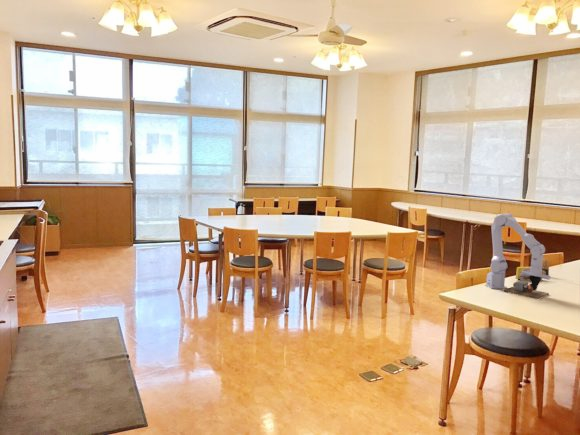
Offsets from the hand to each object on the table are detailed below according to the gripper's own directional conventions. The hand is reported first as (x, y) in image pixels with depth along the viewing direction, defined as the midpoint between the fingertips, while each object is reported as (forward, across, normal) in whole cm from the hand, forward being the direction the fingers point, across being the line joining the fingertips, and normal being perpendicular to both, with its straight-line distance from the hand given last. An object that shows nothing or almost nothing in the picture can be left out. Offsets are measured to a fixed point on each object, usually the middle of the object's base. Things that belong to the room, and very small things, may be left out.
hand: (534, 289), depth 266 cm
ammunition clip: (+3, +18, -53) cm, 56 cm away
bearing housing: (+3, +7, 0) cm, 8 cm away
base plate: (+3, +5, 0) cm, 5 cm away
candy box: (+3, +18, -35) cm, 40 cm away
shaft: (+2, +6, 0) cm, 7 cm away
